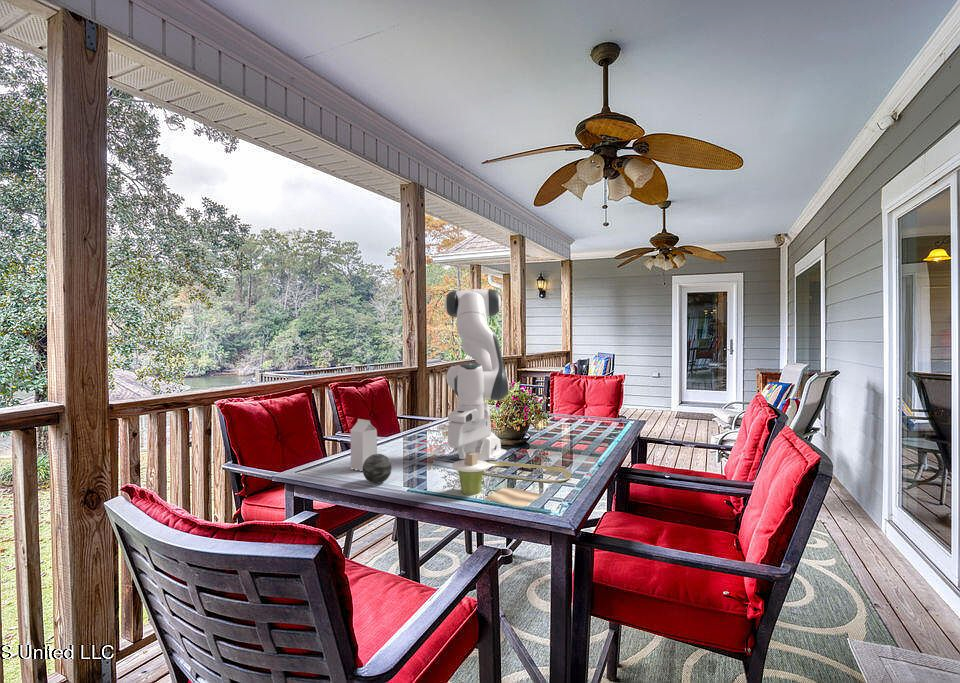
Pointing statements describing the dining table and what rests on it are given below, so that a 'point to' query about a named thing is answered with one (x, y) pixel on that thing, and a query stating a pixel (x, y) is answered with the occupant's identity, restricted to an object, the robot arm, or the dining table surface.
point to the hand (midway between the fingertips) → (470, 455)
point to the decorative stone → (377, 468)
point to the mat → (513, 497)
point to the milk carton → (362, 443)
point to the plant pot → (471, 482)
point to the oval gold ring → (529, 467)
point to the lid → (470, 464)
